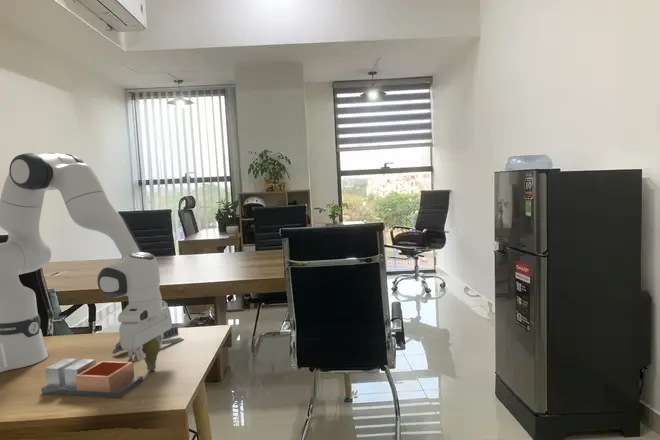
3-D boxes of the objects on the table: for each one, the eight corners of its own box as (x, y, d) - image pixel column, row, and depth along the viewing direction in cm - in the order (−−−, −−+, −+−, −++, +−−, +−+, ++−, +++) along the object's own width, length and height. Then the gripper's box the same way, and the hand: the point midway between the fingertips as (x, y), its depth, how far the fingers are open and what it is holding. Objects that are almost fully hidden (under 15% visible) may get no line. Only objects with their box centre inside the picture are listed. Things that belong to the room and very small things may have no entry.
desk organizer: (41, 393, 125) (39, 370, 124) (69, 377, 135) (67, 356, 134) (119, 398, 120) (117, 374, 119) (143, 381, 129) (141, 359, 129)
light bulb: (149, 376, 133) (146, 342, 132) (137, 372, 136) (134, 339, 135) (165, 369, 138) (162, 336, 137) (153, 365, 141) (150, 333, 140)
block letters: (115, 357, 150) (113, 340, 150) (112, 356, 151) (111, 339, 150) (178, 333, 171) (177, 318, 171) (175, 333, 172) (174, 318, 171)
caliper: (130, 360, 147) (129, 341, 146) (128, 360, 147) (127, 340, 147) (184, 340, 163) (182, 323, 163) (182, 340, 164) (180, 322, 163)
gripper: (157, 298, 146) (160, 341, 147) (113, 318, 126) (118, 367, 127) (175, 298, 144) (178, 342, 146) (133, 318, 125) (138, 368, 126)
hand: (150, 354), depth 136 cm, fingers open, 7 cm apart
